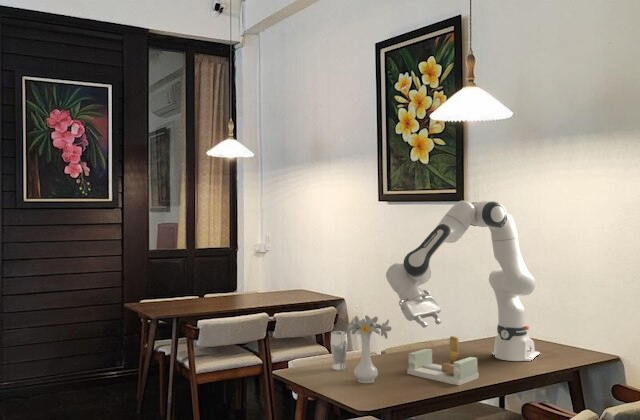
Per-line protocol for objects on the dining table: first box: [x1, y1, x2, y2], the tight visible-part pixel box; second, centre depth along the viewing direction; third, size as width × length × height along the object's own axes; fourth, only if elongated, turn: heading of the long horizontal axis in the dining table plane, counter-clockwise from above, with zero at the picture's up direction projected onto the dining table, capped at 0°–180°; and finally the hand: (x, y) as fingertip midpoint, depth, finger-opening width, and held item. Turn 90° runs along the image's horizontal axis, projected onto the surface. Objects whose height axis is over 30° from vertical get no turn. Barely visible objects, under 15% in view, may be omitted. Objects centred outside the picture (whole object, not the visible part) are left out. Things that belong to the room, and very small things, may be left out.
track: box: [406, 348, 480, 386], centre depth 256 cm, size 14×24×8 cm, turn 45°
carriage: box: [441, 335, 460, 374], centre depth 252 cm, size 10×5×13 cm, turn 135°
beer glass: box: [330, 330, 348, 372], centre depth 267 cm, size 7×7×15 cm
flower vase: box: [345, 315, 392, 384], centre depth 249 cm, size 13×18×25 cm
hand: (432, 325), depth 259 cm, fingers open, 8 cm apart
